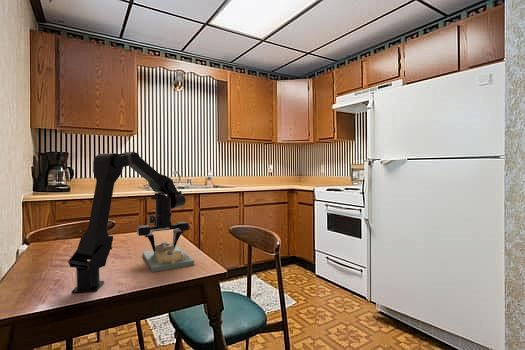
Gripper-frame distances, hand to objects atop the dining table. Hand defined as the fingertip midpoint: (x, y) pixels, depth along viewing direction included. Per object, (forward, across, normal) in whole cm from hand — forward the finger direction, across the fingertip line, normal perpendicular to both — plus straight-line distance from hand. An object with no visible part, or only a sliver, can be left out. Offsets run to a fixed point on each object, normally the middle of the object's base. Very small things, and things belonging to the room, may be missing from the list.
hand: (164, 250), depth 113 cm
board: (+2, 0, +4) cm, 5 cm away
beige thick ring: (+1, 0, 0) cm, 1 cm away
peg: (+1, 0, 0) cm, 1 cm away
